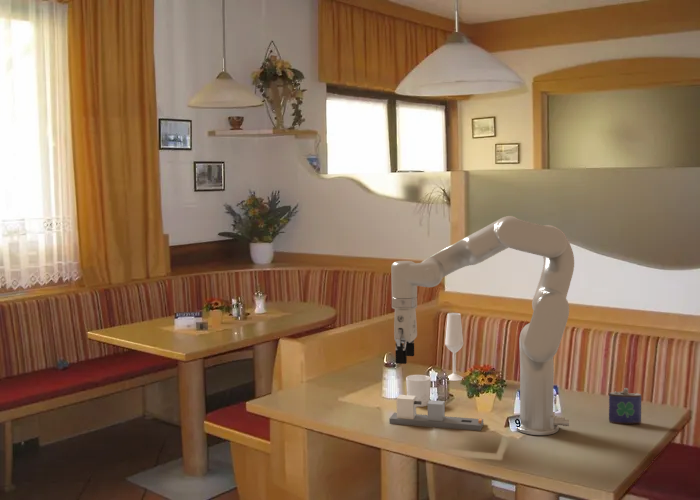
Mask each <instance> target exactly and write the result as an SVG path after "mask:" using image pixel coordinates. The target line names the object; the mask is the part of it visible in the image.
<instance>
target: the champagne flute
mask: <svg viewBox="0 0 700 500" xmlns="http://www.w3.org/2000/svg"><path fill="white" fill-rule="evenodd" d="M446 315H447V316H446V326H445V327H446V328H445V340H444V345H445V347H446V348H447V349H448V350H449V351H450V352H451V353H452V373H450V374H449V375H447V376H448V378H449V380H448V381H452V382H453V381H454V382H455V381H456V382H457V381H458V382H459V381H463V380H462V378H464V377H463V376H461V375H459V374H458V373H457V352H458V353H459V351H460V350H461V349H462V347H463V346H464V335H463V326H462V316H461V315H462V314H461V313H459V312H448V313H447V314H446Z"/></svg>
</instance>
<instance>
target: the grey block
mask: <svg viewBox="0 0 700 500" xmlns="http://www.w3.org/2000/svg"><path fill="white" fill-rule="evenodd" d="M445 408H446V407H445V400H434V399H433V400H432V399H430V400H429V402H428V405H427V415H428V420H432V421H443V420H444V418H445V416H446V415H445V413H446V411H445V410H446V409H445Z"/></svg>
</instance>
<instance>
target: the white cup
mask: <svg viewBox="0 0 700 500" xmlns="http://www.w3.org/2000/svg"><path fill="white" fill-rule="evenodd" d="M431 380H432V379H431V377H430V376H429V375H424V374H410V375H407V376H406V377H405V384H406V385H405V386H406V395H412V396H416V401H421V405H418V404H416V408H419V407H422V408H423V407H426V406H427V407H428V402H429V401H430V400H431V399H430V397H431Z"/></svg>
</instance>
